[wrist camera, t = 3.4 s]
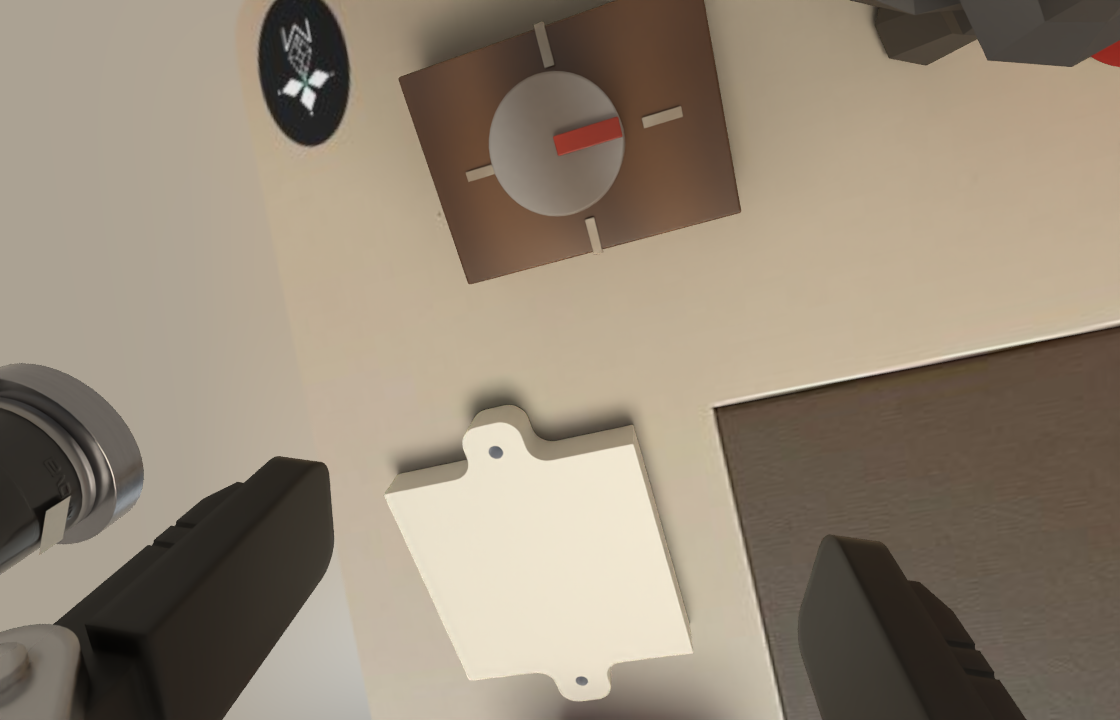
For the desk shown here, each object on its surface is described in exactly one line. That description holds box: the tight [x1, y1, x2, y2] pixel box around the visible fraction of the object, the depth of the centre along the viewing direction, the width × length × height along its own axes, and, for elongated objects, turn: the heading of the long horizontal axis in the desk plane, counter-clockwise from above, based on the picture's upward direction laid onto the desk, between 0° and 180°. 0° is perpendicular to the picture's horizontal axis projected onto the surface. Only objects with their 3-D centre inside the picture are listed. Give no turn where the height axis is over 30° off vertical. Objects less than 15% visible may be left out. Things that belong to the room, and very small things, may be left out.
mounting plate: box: [384, 405, 693, 701], centre depth 31 cm, size 18×13×2 cm
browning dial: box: [489, 71, 625, 216], centre depth 19 cm, size 4×4×5 cm
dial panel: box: [399, 0, 741, 284], centre depth 22 cm, size 11×8×3 cm
